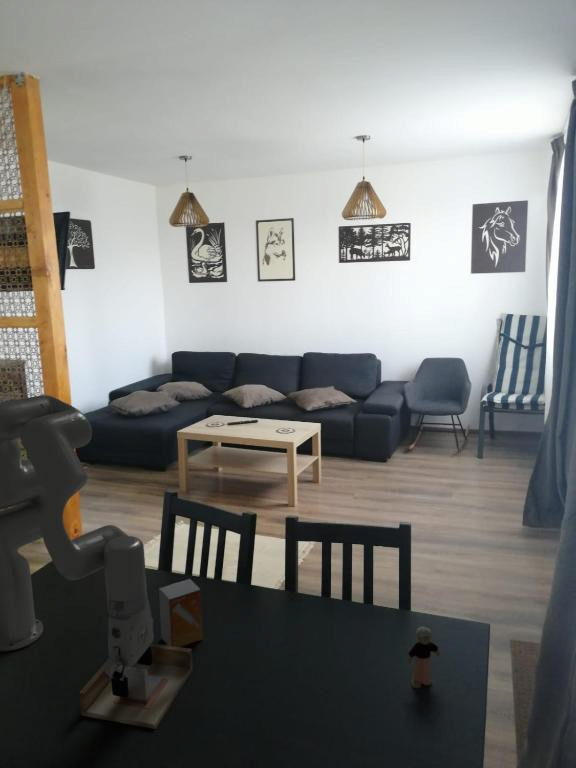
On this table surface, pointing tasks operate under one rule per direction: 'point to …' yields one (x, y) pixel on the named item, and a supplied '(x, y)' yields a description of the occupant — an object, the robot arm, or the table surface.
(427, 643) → the grandmother figurine
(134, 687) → the bracket
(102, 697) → the wooden tray
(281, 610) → the table surface
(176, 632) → the small box
